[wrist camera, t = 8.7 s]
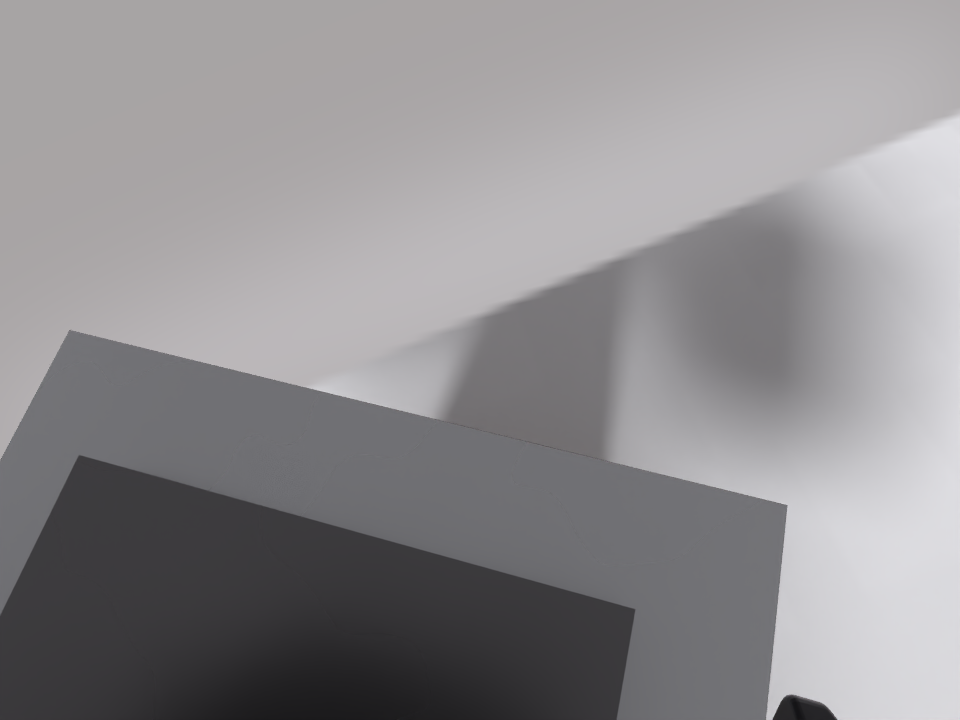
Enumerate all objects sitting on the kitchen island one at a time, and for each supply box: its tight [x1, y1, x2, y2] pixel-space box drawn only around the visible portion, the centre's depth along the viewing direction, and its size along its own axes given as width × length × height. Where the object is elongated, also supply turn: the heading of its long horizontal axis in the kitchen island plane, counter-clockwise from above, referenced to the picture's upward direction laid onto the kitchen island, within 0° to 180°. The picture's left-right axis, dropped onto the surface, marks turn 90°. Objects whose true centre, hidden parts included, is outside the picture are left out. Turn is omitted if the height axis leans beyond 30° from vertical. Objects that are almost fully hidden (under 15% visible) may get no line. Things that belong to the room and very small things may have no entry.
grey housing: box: [0, 330, 787, 720], centre depth 9 cm, size 6×6×12 cm
